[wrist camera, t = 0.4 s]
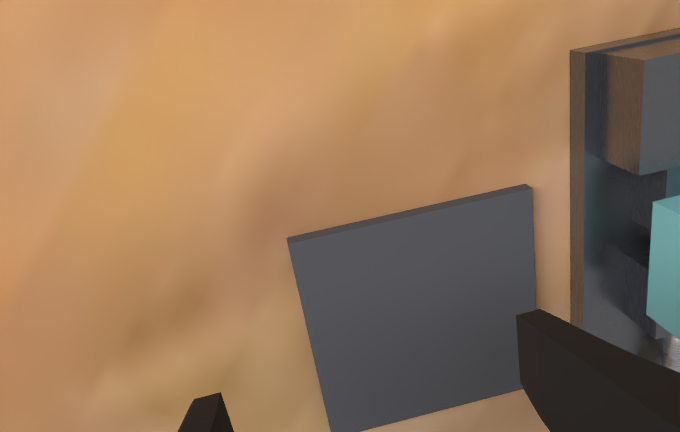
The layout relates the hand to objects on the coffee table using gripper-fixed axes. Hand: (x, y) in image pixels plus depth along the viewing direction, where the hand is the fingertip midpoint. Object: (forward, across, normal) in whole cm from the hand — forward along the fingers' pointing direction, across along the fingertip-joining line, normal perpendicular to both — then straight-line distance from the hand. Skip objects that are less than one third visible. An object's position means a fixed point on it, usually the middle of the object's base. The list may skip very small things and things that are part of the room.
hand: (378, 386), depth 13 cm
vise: (+10, -14, +3) cm, 18 cm away
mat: (+10, -4, +5) cm, 11 cm away
